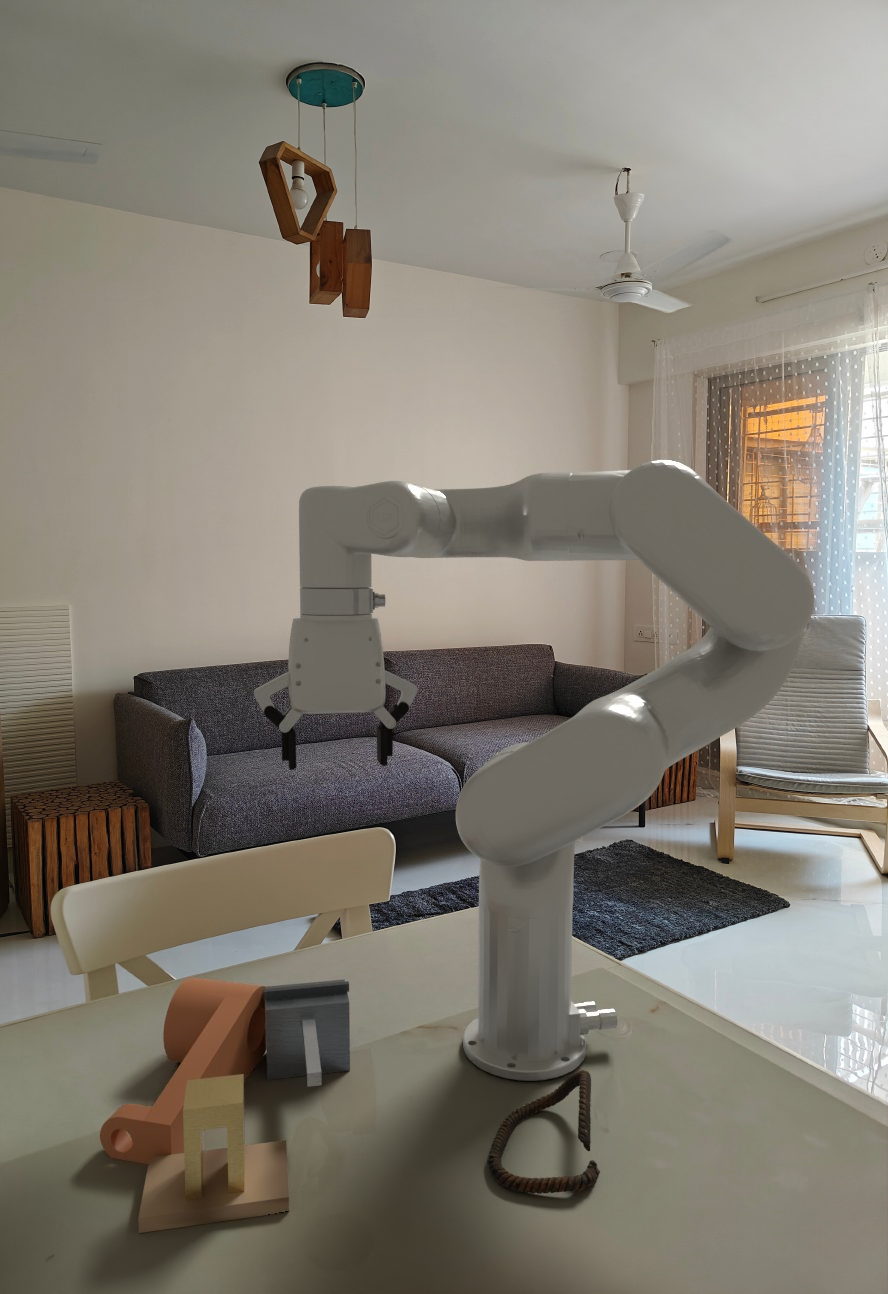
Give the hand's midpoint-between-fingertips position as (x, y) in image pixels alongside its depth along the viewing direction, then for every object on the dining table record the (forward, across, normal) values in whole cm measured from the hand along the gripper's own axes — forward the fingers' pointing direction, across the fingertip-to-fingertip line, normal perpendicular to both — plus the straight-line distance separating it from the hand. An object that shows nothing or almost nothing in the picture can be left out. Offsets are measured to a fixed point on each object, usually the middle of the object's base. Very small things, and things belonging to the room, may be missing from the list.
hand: (337, 765), depth 96 cm
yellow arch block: (+28, +12, +26) cm, 40 cm away
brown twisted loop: (+29, -15, +26) cm, 42 cm away
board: (+28, +12, +25) cm, 40 cm away
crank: (+29, +15, +11) cm, 34 cm away
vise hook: (+28, +4, +12) cm, 31 cm away
